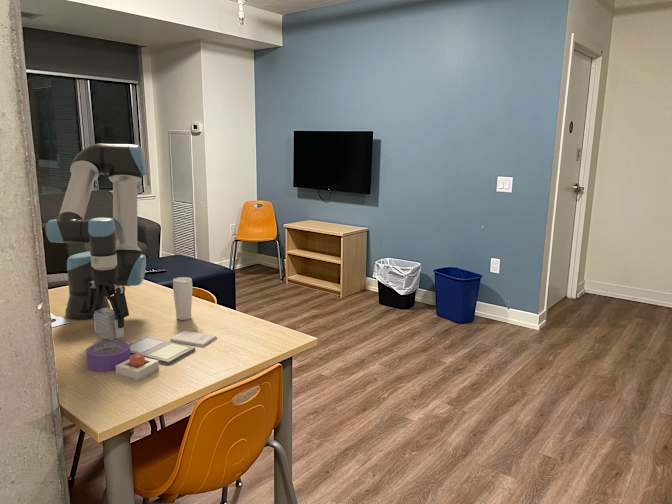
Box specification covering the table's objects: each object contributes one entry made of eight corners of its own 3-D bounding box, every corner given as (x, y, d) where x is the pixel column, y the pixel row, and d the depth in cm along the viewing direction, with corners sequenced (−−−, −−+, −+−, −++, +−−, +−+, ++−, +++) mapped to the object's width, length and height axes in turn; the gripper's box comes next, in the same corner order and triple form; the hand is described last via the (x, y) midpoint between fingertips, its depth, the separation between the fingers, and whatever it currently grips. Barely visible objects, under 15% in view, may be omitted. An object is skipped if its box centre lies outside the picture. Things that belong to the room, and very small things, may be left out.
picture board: (118, 352, 157) (117, 348, 157) (146, 339, 168) (146, 336, 168) (168, 364, 149) (168, 361, 149) (195, 350, 160) (195, 347, 160)
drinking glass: (196, 315, 192) (194, 277, 189) (189, 321, 185) (187, 282, 182) (178, 314, 192) (177, 276, 189) (171, 320, 186) (169, 281, 183)
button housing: (116, 375, 142) (115, 365, 141) (137, 364, 149) (137, 355, 148) (138, 381, 139) (137, 371, 138) (158, 370, 146) (158, 360, 145)
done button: (126, 367, 142) (126, 357, 142) (137, 362, 146) (136, 352, 145) (137, 370, 141) (137, 360, 140) (148, 365, 144) (147, 355, 144)
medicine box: (123, 337, 165) (121, 312, 163) (110, 341, 161) (108, 315, 160) (108, 331, 169) (106, 307, 167) (96, 335, 166) (94, 310, 164)
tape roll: (114, 352, 157) (113, 337, 156) (139, 361, 152) (138, 345, 151) (78, 365, 147) (77, 349, 146) (104, 376, 142) (103, 359, 141)
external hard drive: (184, 334, 175) (216, 339, 171) (170, 343, 167) (203, 348, 163) (184, 330, 174) (216, 335, 171) (170, 338, 167) (203, 343, 163)
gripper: (70, 265, 161) (76, 332, 166) (120, 274, 153) (124, 344, 158) (90, 260, 167) (95, 324, 173) (139, 269, 159) (142, 336, 164)
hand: (109, 334), depth 165 cm, fingers closed on medicine box, 8 cm apart
